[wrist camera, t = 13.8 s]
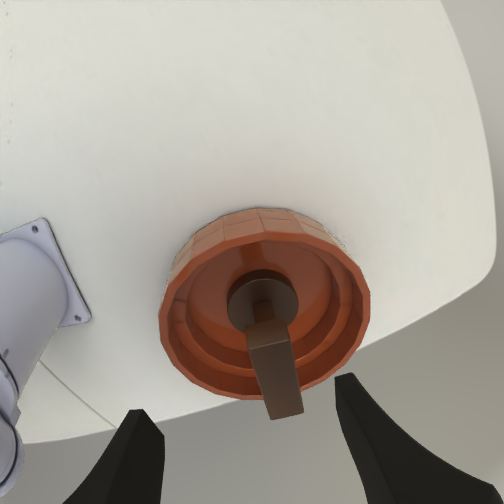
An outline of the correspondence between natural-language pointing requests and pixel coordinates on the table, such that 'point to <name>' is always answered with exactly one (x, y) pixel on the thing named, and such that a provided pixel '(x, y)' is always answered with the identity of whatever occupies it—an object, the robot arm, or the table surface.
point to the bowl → (249, 259)
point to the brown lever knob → (268, 336)
